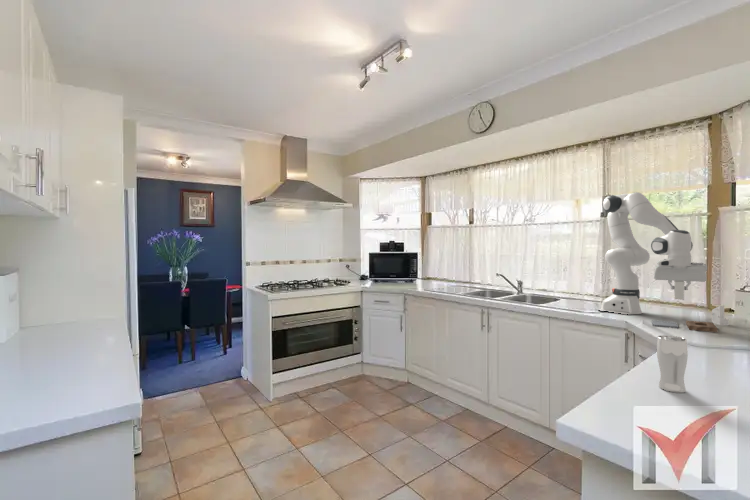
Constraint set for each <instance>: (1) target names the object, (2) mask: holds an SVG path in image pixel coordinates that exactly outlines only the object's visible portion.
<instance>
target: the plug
mask: <svg viewBox="0 0 750 500" xmlns="http://www.w3.org/2000/svg"><path fill="white" fill-rule="evenodd" d="M685 282H686V281H674V282H673V283H674V284H673V286H675V290H674V289H673V298H674V300H679V301H681V300H682V301H684V300H685V290H684V286H685Z"/></svg>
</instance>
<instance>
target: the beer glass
mask: <svg viewBox="0 0 750 500" xmlns="http://www.w3.org/2000/svg"><path fill="white" fill-rule="evenodd" d="M656 341H657V343H656V357H657V362H658V366H659V372H660V379H659V383H658V387H659V389H661V390H663V389H664V390H663V391H665V390H667V391H666V392H669V391H670V392H669V393H674V392H675V394H685V393H686V391H687V389H686V386H685V374H686V373H685V372H686V368H687V365H688V358H689V357H688V355H689V353H688V351H689V350H688V344H687V341H688V340H687V339H686V338H684V337H681V336H675V335H665V334H664V335H662V334H661V335H658V336H657V340H656Z"/></svg>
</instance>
